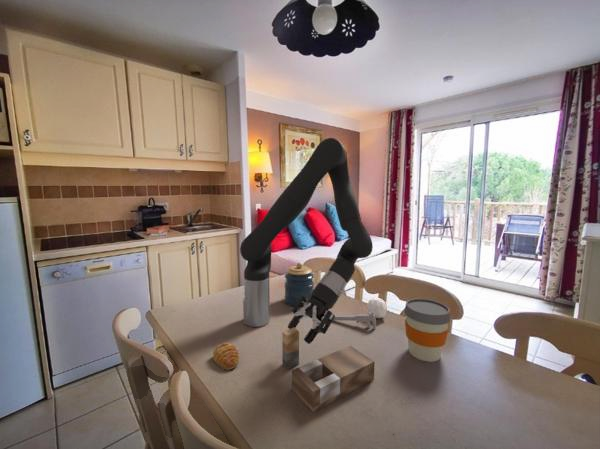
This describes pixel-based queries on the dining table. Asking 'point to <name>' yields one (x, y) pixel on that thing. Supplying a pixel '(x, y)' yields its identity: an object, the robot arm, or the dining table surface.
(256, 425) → the dining table surface
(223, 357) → the pastry
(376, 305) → the geometric ball
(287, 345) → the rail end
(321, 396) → the notched wooden block
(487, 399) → the dining table surface
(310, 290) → the canister
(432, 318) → the reusable coffee cup
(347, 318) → the caliper
